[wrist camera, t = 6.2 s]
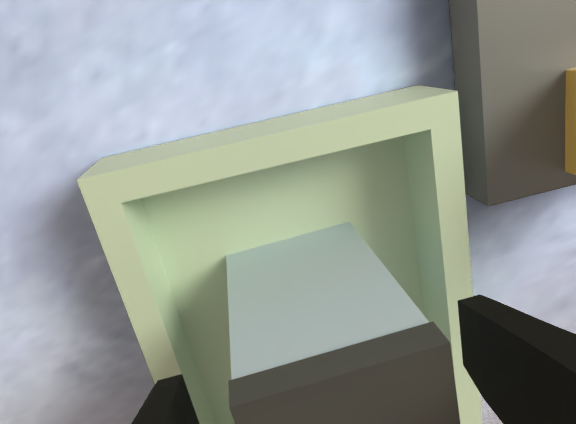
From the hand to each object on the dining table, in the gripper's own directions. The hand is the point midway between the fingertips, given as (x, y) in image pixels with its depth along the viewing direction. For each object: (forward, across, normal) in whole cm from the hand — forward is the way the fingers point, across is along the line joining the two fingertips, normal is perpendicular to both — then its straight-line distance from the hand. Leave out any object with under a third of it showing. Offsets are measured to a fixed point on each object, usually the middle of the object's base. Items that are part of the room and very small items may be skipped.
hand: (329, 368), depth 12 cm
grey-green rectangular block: (+4, 0, 0) cm, 4 cm away
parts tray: (+4, 0, 0) cm, 4 cm away
